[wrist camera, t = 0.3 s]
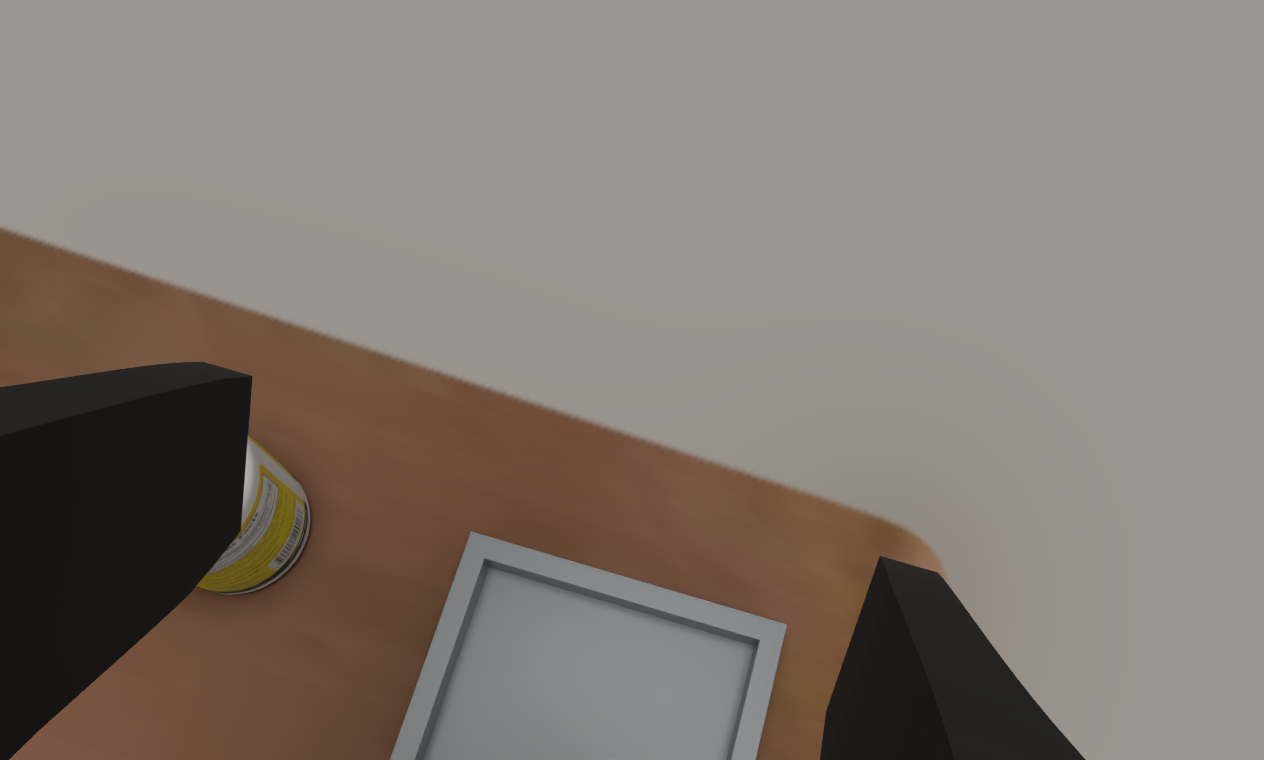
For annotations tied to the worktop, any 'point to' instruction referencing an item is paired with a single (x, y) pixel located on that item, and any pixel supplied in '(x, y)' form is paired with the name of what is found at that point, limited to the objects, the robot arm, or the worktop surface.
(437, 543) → the worktop surface
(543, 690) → the tray
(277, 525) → the supplement bottle
